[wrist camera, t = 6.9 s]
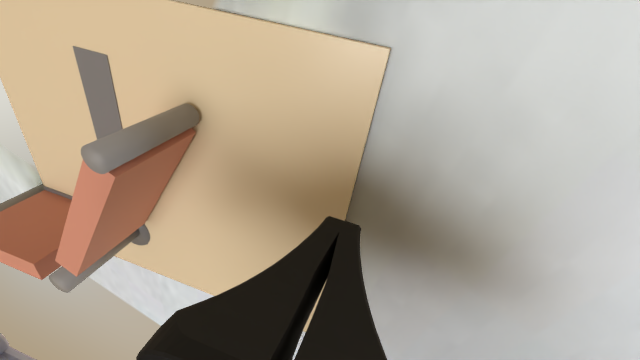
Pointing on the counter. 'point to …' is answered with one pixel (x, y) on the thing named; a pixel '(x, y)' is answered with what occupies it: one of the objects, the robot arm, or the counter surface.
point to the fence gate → (122, 184)
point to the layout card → (214, 121)
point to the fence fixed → (41, 237)
